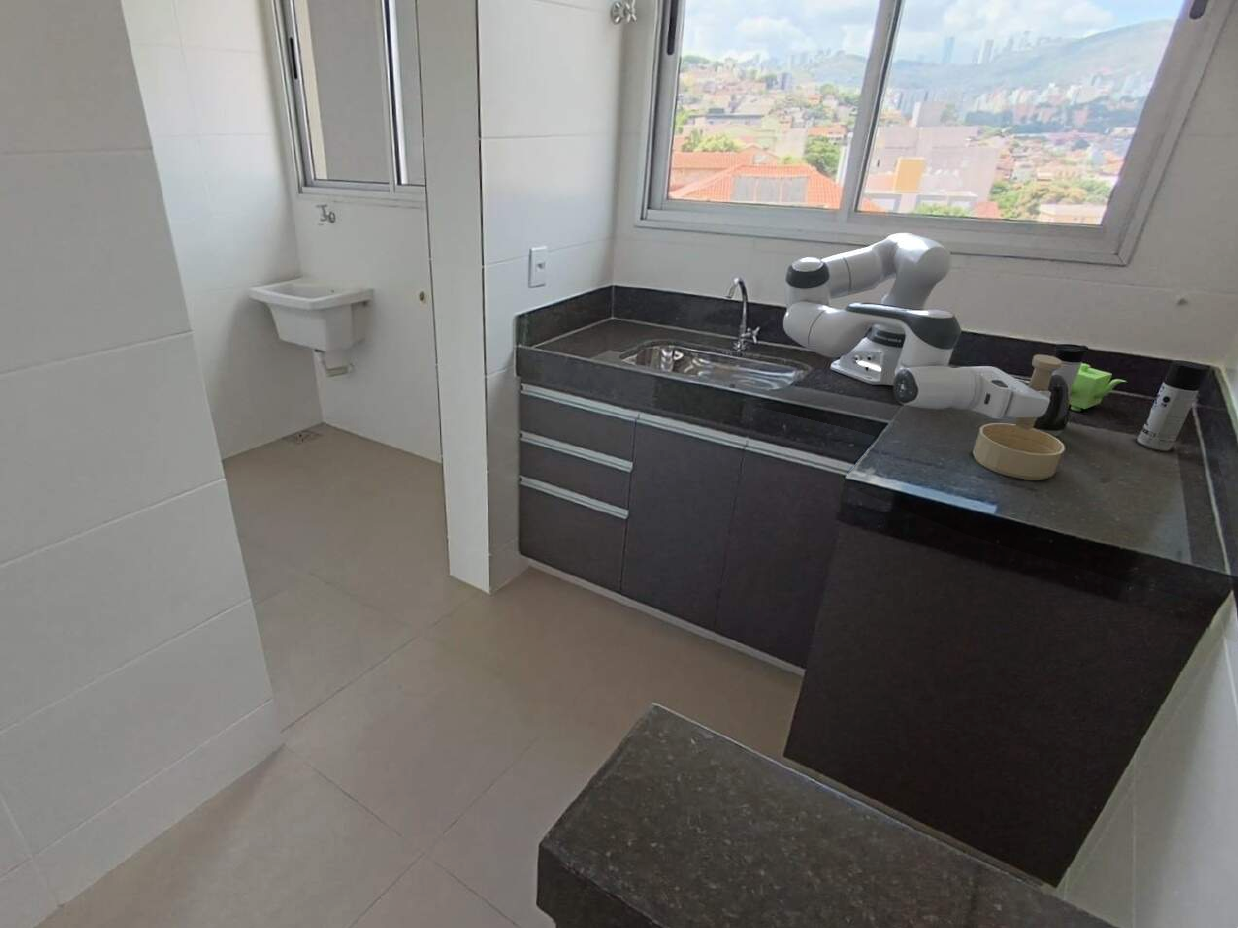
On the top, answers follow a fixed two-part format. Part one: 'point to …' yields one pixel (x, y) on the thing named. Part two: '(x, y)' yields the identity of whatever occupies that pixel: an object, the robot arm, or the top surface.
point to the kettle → (1090, 387)
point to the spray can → (1172, 404)
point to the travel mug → (1069, 361)
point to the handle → (1039, 382)
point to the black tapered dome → (1055, 408)
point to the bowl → (1018, 451)
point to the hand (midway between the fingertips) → (1040, 390)
